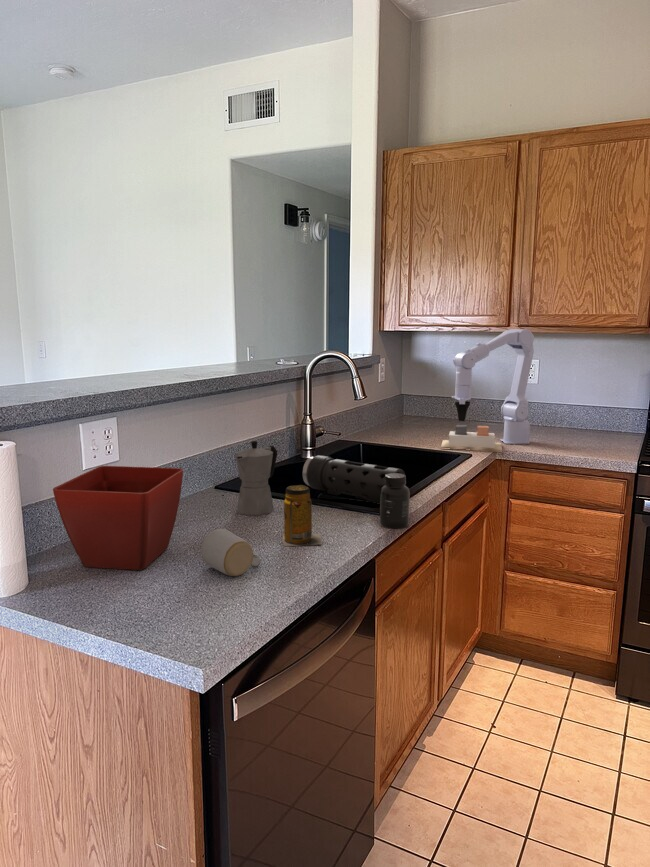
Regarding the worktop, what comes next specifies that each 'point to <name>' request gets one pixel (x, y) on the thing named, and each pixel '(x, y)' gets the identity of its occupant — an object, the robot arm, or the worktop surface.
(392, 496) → the supplement bottle
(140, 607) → the worktop surface
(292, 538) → the condiment
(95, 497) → the plant pot
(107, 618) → the worktop surface
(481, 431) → the terracotta plunger
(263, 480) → the coffeepot
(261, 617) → the worktop surface
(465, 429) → the grey cube
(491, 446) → the plunger panel
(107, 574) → the worktop surface
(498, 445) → the birch board
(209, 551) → the ceramic mug
